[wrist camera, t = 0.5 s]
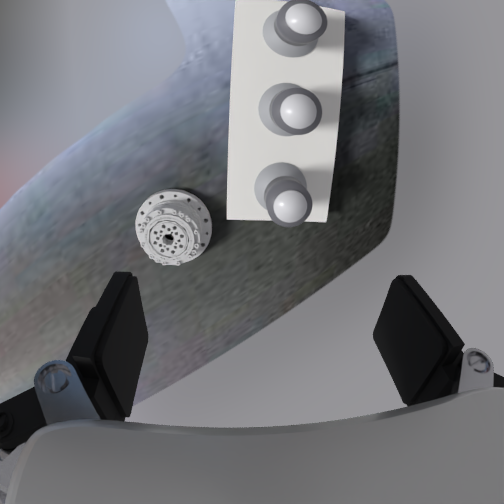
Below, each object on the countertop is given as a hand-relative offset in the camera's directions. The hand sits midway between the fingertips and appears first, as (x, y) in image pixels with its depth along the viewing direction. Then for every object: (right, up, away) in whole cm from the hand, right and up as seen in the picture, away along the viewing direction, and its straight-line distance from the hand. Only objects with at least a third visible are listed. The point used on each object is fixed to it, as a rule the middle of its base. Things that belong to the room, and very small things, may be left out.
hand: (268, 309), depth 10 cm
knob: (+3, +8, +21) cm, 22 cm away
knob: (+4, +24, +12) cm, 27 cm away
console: (+3, +19, +22) cm, 29 cm away
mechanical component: (-11, +6, +28) cm, 31 cm away
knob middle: (+3, +16, +16) cm, 23 cm away
